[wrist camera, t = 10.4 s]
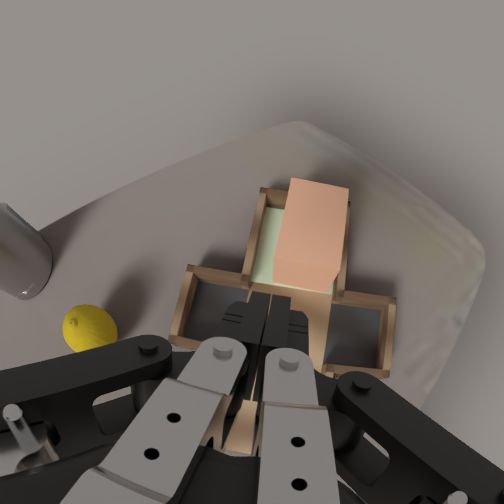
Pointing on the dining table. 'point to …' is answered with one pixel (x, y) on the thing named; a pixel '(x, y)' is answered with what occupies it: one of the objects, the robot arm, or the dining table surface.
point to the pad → (270, 249)
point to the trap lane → (311, 303)
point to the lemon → (88, 328)
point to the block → (311, 235)
